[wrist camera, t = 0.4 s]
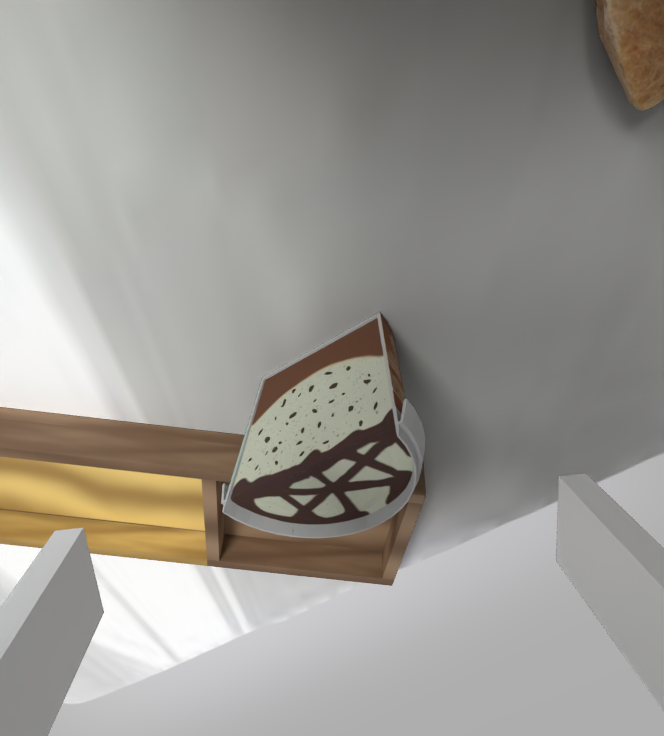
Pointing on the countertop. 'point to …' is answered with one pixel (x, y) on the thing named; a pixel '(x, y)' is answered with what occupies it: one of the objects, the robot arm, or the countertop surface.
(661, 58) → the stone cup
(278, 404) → the food container
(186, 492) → the walnut divided tray
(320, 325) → the countertop surface
